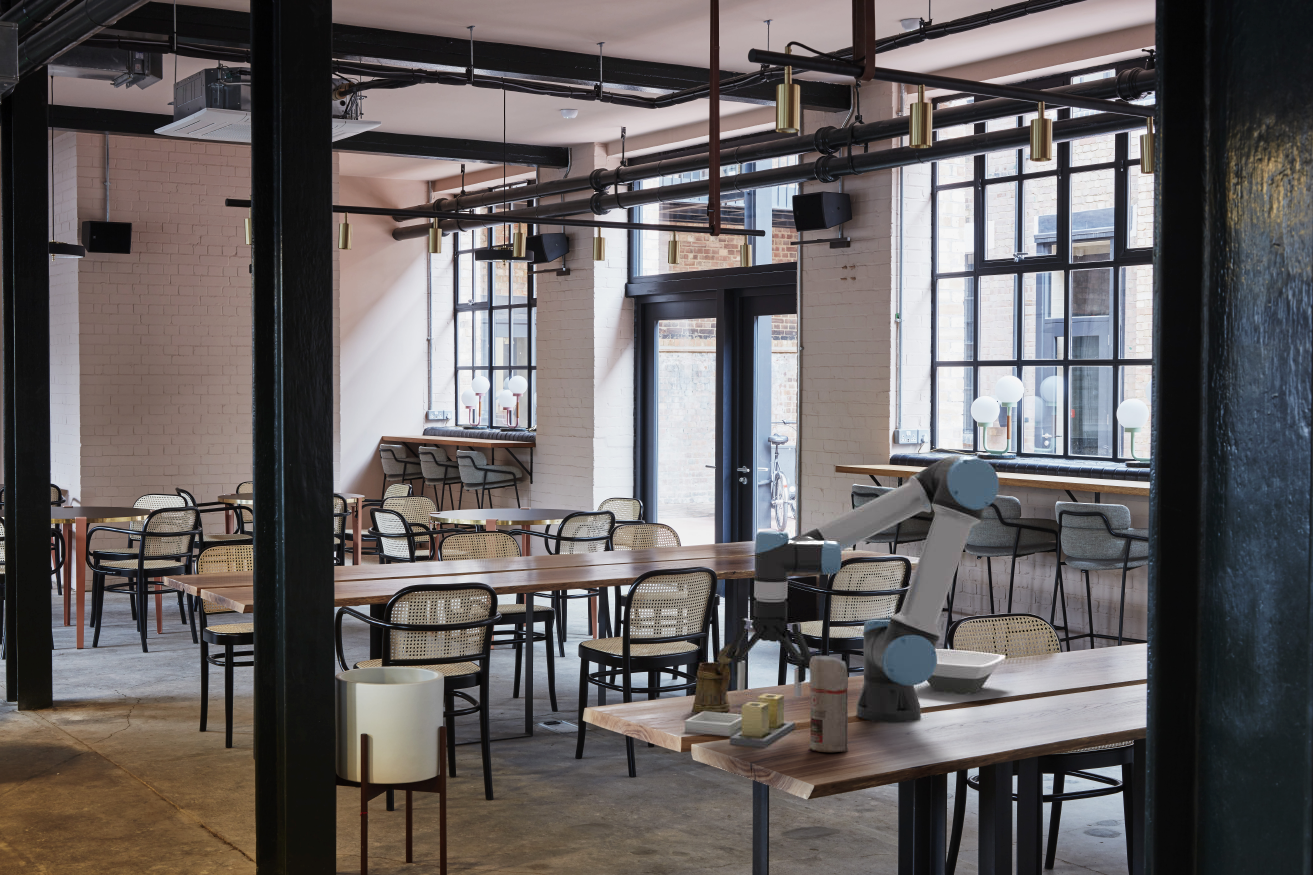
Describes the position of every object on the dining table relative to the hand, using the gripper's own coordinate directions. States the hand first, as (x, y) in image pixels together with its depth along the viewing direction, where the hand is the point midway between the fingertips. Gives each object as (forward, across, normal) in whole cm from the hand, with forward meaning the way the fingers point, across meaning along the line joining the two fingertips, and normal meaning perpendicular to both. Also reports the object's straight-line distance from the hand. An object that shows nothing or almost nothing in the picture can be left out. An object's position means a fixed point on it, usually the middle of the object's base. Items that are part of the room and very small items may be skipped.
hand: (769, 693), depth 289 cm
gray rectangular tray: (+9, 0, +5) cm, 10 cm away
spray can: (+9, -18, +11) cm, 22 cm away
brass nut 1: (+9, 0, +10) cm, 13 cm away
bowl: (+8, -28, -67) cm, 74 cm away
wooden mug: (+9, +18, -14) cm, 25 cm away
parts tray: (+9, +12, +3) cm, 15 cm away
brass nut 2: (+9, 0, 0) cm, 9 cm away
